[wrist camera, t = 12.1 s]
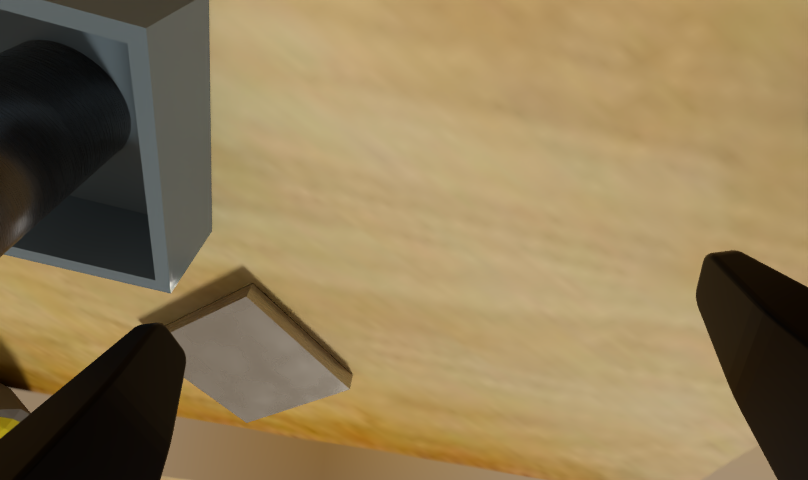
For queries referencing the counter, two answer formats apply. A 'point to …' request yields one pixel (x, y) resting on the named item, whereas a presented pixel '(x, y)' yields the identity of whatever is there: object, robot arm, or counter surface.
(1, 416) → the black and yellow shoe
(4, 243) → the battery
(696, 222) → the counter surface
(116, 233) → the bin
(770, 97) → the counter surface
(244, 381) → the plate
